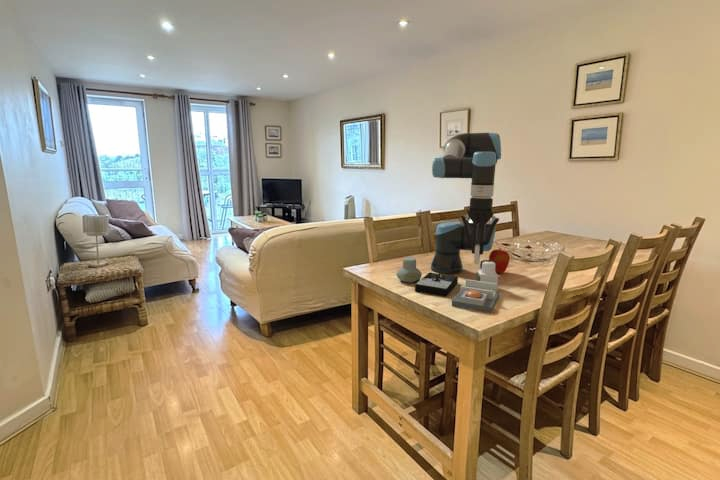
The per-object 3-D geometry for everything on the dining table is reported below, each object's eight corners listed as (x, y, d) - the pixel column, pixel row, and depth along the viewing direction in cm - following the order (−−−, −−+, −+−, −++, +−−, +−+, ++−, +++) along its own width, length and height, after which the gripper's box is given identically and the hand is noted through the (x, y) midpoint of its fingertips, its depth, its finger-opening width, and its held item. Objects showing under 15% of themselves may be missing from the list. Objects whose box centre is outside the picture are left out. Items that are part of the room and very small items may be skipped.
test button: (465, 298, 136) (465, 293, 136) (468, 294, 140) (468, 289, 140) (479, 301, 134) (480, 295, 133) (482, 296, 138) (482, 291, 138)
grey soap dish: (451, 305, 137) (452, 292, 136) (463, 290, 154) (464, 278, 153) (491, 312, 131) (492, 299, 130) (499, 296, 148) (500, 284, 147)
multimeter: (457, 284, 163) (458, 273, 162) (446, 298, 146) (447, 285, 145) (428, 279, 169) (429, 269, 168) (414, 292, 152) (414, 281, 151)
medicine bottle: (475, 285, 160) (477, 258, 157) (493, 286, 159) (495, 259, 156) (478, 291, 153) (480, 263, 150) (496, 292, 152) (499, 263, 150)
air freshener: (399, 284, 161) (400, 261, 159) (394, 278, 169) (394, 257, 167) (423, 283, 163) (424, 260, 161) (417, 277, 171) (418, 256, 169)
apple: (486, 273, 177) (488, 249, 174) (489, 269, 185) (490, 245, 182) (507, 276, 173) (510, 251, 171) (509, 271, 181) (511, 247, 179)
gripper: (460, 197, 130) (456, 262, 135) (499, 199, 124) (494, 267, 129) (464, 195, 136) (461, 258, 141) (502, 197, 130) (497, 262, 135)
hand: (476, 262), depth 135 cm, fingers closed
